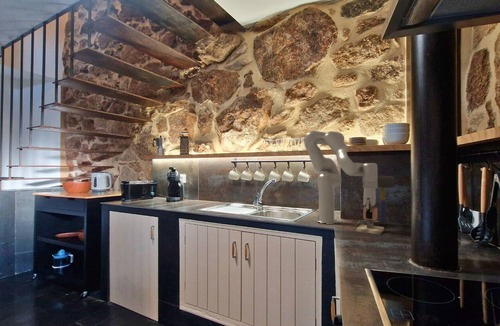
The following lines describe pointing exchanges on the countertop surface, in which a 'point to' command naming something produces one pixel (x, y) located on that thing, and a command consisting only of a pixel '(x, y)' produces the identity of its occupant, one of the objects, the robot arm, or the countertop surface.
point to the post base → (370, 228)
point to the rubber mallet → (384, 183)
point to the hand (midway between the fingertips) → (370, 217)
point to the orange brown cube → (374, 213)
